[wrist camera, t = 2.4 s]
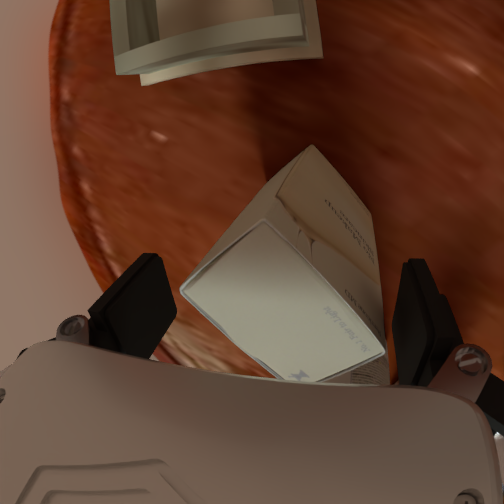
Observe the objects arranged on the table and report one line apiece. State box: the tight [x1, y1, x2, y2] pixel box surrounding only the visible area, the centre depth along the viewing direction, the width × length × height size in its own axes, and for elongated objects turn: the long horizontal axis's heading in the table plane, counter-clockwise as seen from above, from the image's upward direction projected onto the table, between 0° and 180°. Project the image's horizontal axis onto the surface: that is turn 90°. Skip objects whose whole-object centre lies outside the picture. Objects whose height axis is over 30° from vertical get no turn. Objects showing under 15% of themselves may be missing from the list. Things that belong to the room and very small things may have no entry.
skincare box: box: [180, 145, 386, 382], centre depth 14 cm, size 6×4×12 cm
